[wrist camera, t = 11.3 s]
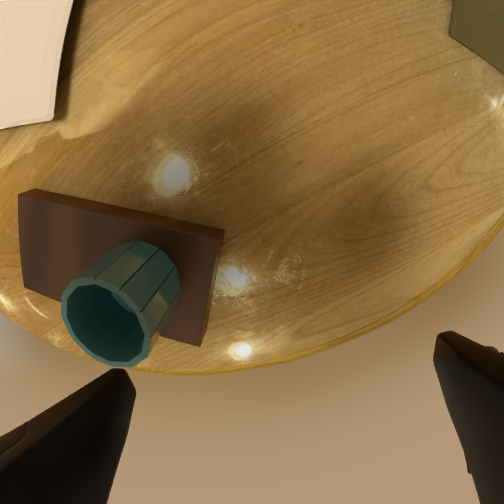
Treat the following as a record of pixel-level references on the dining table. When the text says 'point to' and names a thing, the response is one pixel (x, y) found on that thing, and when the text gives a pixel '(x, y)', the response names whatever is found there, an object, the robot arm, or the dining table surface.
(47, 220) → the block
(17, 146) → the dining table surface
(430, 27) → the dining table surface
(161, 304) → the cup
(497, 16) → the stand
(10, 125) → the plate
